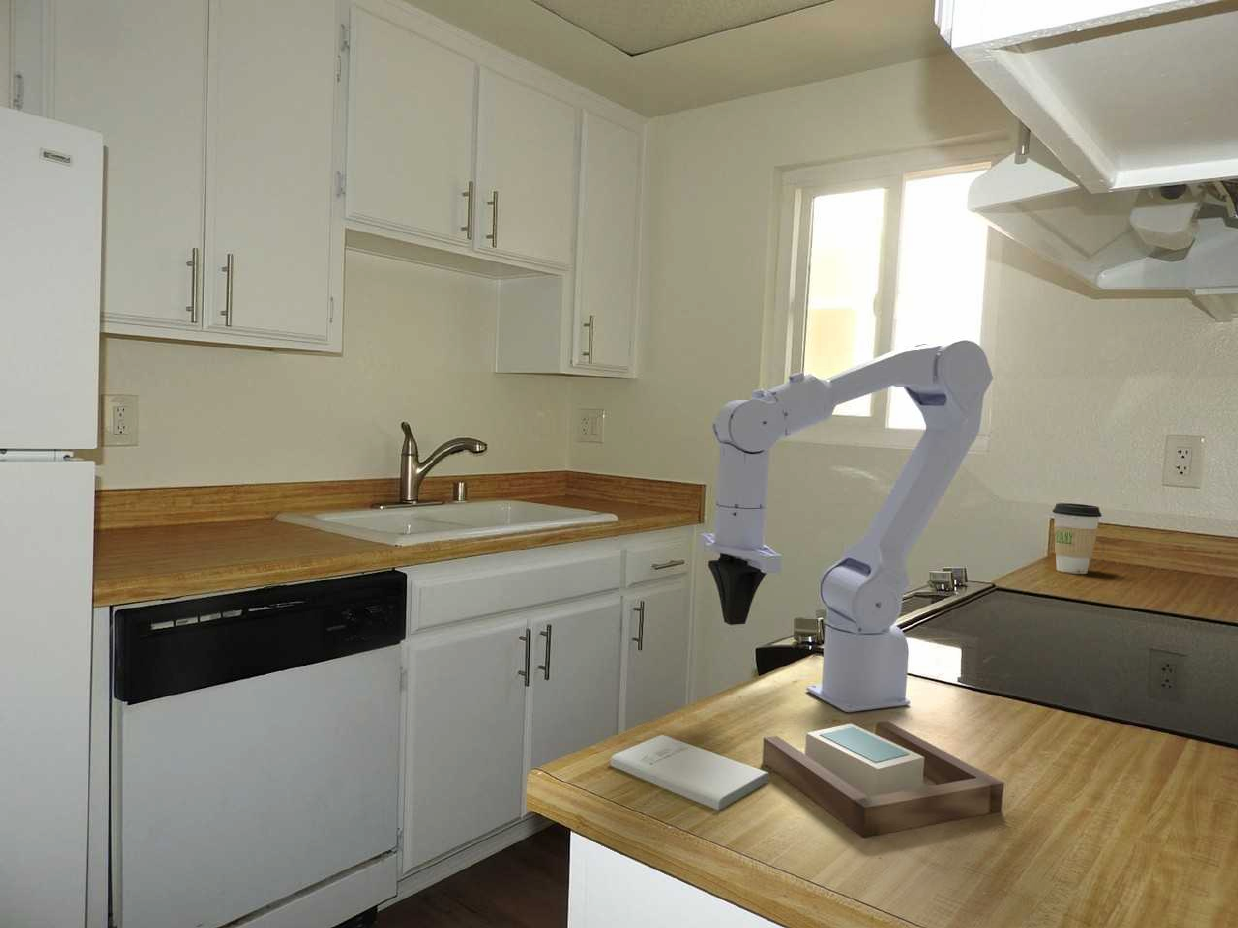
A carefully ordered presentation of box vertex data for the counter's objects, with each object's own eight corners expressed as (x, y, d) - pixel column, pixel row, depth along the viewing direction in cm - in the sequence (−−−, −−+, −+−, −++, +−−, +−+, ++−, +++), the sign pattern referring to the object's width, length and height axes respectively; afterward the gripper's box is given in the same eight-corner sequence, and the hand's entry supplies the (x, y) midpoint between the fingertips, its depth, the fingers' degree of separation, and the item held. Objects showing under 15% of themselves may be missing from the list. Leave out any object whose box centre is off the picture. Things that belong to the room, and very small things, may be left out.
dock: (886, 744, 89) (887, 721, 89) (1001, 810, 76) (1003, 782, 75) (762, 762, 83) (763, 737, 83) (863, 837, 70) (865, 807, 70)
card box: (848, 757, 87) (851, 722, 86) (921, 794, 79) (924, 755, 79) (804, 767, 84) (806, 731, 83) (875, 807, 76) (878, 767, 76)
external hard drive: (717, 817, 73) (609, 771, 82) (768, 788, 80) (663, 747, 88) (719, 799, 73) (610, 754, 81) (769, 770, 79) (663, 731, 88)
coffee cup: (1049, 565, 202) (1054, 501, 201) (1097, 570, 198) (1102, 505, 196) (1046, 571, 194) (1051, 505, 193) (1096, 577, 189) (1102, 509, 188)
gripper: (680, 497, 103) (675, 609, 104) (744, 514, 90) (737, 642, 91) (731, 497, 106) (725, 606, 107) (800, 514, 93) (793, 638, 94)
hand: (734, 622), depth 99 cm, fingers closed
